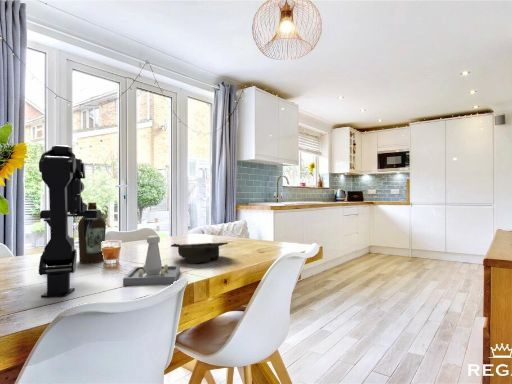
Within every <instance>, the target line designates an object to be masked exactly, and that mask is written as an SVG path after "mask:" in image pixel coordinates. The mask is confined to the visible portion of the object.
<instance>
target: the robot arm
mask: <svg viewBox="0 0 512 384" xmlns="http://www.w3.org/2000/svg"><path fill="white" fill-rule="evenodd" d="M38 171H39V172H40V173H41V179H42V181H43V182H44V184H45V185H46V187H48V194H49V195H48V198H49V199H48V201H49V209H43V210H41V211H40V212H39V219H42V220H43V222H46V223H47V225H48V226H49V228H50V239H49V240H48V242H47V243H46V245H45V247H44V249H43V252H42V254H41V256H40V259H39V265H38V274H39V275H40V276H45V275H46V292H44V293H43V294H41V296H40V297H41V298H50V297H51V298H55V297H59V298H60V297H66V296H68V295H70V294H71V293H72V292H73V291H76V290H75V288H74V287H71V273H72V274H74V273H75V272H76V270H77V258H78V257H77V256H78V251H77V249H76V248H75V239H74V240H73V239H72V238H70V237H71V236H70V235H69V226H68V225H69V224H68V222H69V220H68V219H69V218H68V217H70V218H71V217H73V218H76V217H77V218H78V217H79V218H80V217H81V218H82V217H86V219H84V220H83V235H84V239H85V238H87V235H88V232H89V230H90V227H91V225H92V223H93V222H94V221H95V220H98V218H100V217H103V216H102V215H103V214H102V213H103V212H102V210H101V209H97V210H88V204H86V203H85V202H83V197H82V195H81V194H82V193H83V192H84V190H85V184H84V182H83V181H82V180H83V179H84V180H85V179H86V169H85V163H84V162H83V160H82V159H81V158H78V157H77V158H76V155H75V153H74V152H73V147H72V146H69V145H52V147H51V149H49V150H47V151H45V152H43V153H42V154H41V156H40V158H39V162H38ZM81 179H82V180H81ZM66 265H69V266H66Z"/></svg>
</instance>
